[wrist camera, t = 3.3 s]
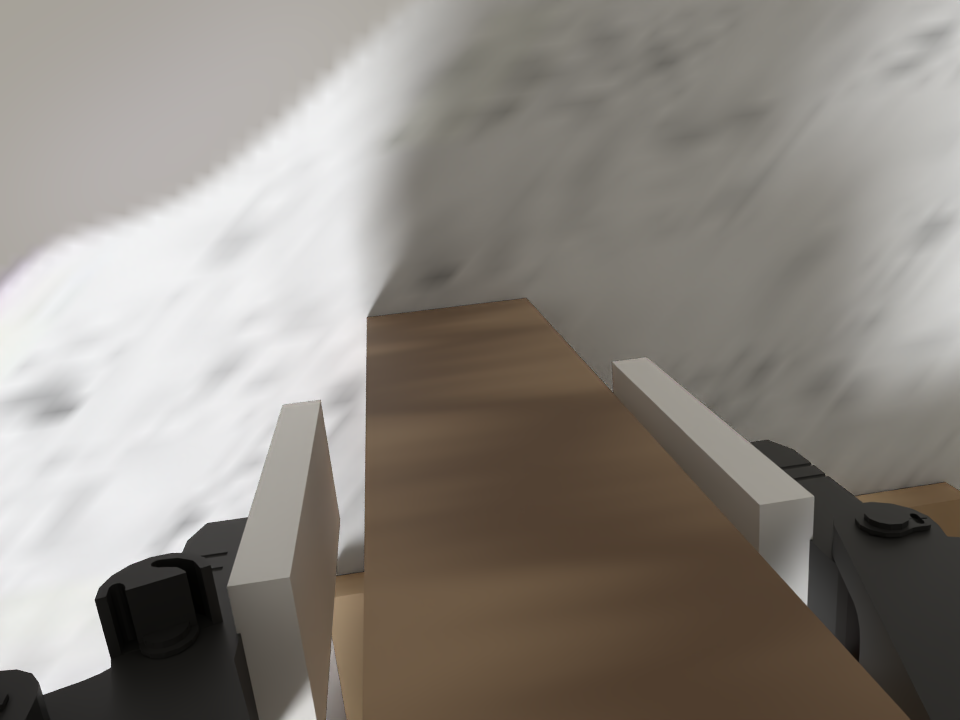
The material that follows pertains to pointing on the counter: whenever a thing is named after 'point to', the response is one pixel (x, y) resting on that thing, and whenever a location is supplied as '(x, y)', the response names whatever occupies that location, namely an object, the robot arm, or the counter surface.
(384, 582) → the walnut peg
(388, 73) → the counter surface
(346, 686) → the awning station
